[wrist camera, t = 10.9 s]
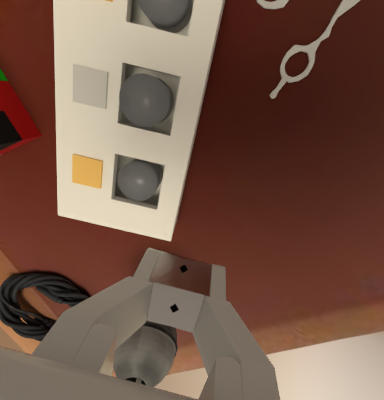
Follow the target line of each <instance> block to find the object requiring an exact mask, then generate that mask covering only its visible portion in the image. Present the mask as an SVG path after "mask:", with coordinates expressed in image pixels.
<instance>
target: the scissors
mask: <svg viewBox="0 0 384 400" xmlns="http://www.w3.org/2000/svg"><path fill="white" fill-rule="evenodd" d="M256 1H257V3H258V4H259V5H260V6H262V7H263V8H264V9H273V10H275V9H279V8H284V6H285V5H286V3H287V2H288V1H289V0H277V1H274V2H268V1H264V0H256ZM359 1H360V0H342V1H341V3H340V5H339V6H338V8H337V10H336V12H335V13H334V15H333V17H332V19H331V21H330V22H329V24H328V26H327V28H326V29H325V31H324V33H323V34H322V35H321V36H320V37H319V38H318V39H317V40H316V41H314V42H312V43H311V44H309V45H307V46H300V45H294V46H293V47H292V48H291V49H290V50H289V51H288V52H287V53H286V54H285V56H284V58H283V60H282V62H281V65H280V74H281V78H282V79H281V81H280V82H279V84H278V85H277V87H276V89H275V90H273V91H272V92H271V93H270V95H269V96H270V98H272V99H273V98H275V97H276V96H277V93H278V92H279V90H280V89H281V88H282V87H283V85H284V84H285V83H286V81H287V82H288V83H291V82H296V81H299V80H301V79H302V78H304V77H305V76H307V75H308V74H309V72H310V70H311V69H312V67H313V64H314V61H315V52H316V50H317V48H318V46H319V44H320V42H321V41H322V40H324V39H326V38H327V37H329V36H330V32H331V28H332V26H333V24H334V23H335V21H336V19H337V18H338V17H339V16H340V15H342V14H343V13H345V12H346V11H347V10H349V9H350V8H351V7H353V6H354V5H355V4H356V3H358V2H359ZM300 51H301V52H304V53H307V55H308V60H309V63H308V65H307V67H306V69H305V70H304V72H303V73H301V74H300V75H298V76H296V77H290V76H288V75H287V74H286V72H285V64H286V62H287V60H288V59H289V58H290V57H291V56H292V55H293V54H295V53H297V52H300Z"/></svg>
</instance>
